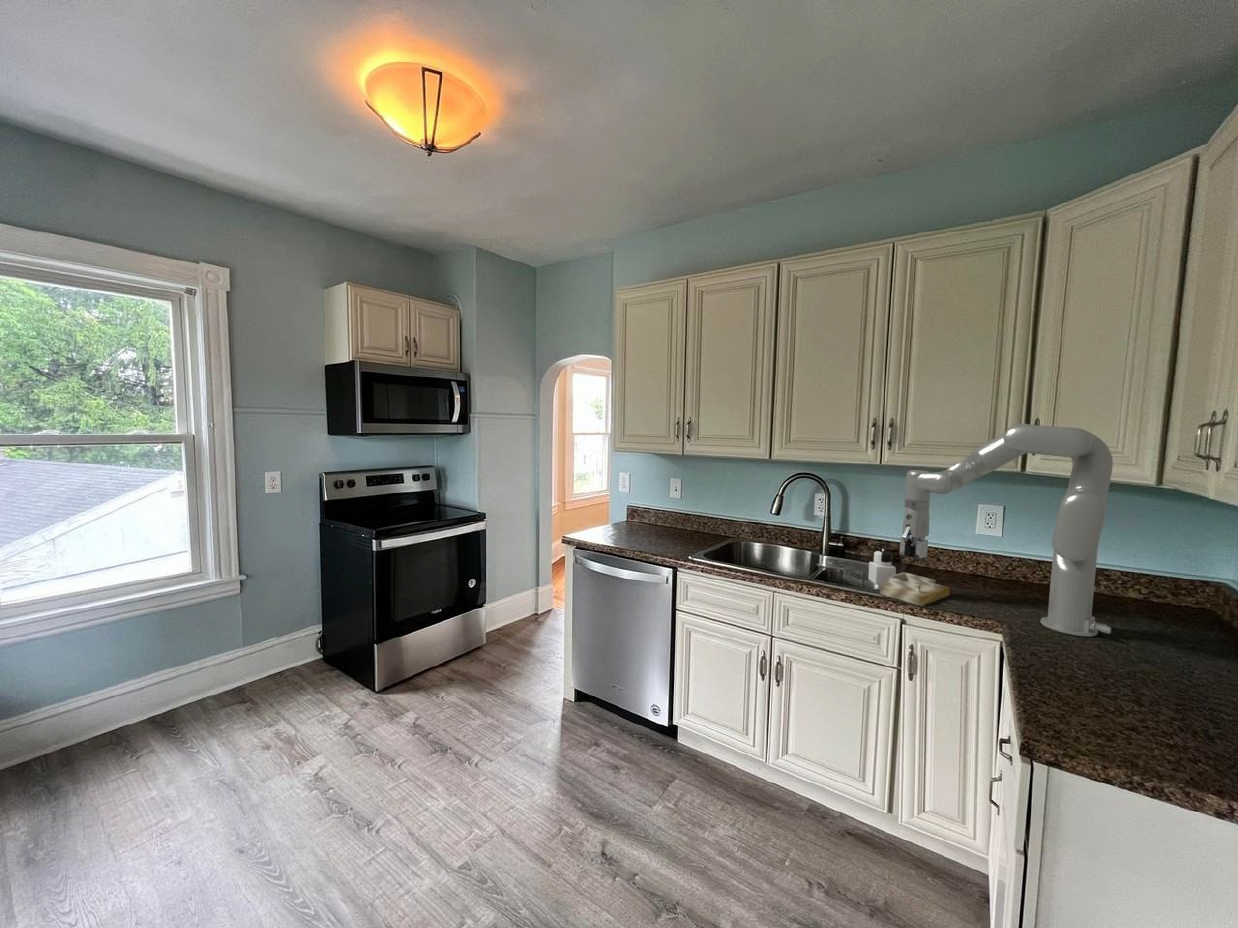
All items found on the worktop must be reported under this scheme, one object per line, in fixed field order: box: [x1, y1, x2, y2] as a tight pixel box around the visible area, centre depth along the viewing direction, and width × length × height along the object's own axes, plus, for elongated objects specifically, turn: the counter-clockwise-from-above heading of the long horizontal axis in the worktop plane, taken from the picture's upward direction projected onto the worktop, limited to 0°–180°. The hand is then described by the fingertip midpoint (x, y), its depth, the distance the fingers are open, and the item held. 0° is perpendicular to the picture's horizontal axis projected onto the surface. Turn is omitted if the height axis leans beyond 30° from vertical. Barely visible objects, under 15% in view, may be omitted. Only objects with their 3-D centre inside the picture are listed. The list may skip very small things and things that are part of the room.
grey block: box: [899, 536, 929, 562], centre depth 176 cm, size 7×5×7 cm
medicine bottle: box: [868, 550, 897, 586], centre depth 190 cm, size 7×7×12 cm
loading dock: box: [879, 571, 951, 607], centre depth 176 cm, size 14×20×6 cm
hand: (913, 554), depth 177 cm, fingers closed on grey block, 5 cm apart
